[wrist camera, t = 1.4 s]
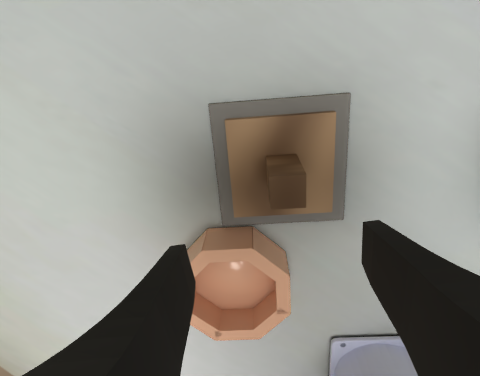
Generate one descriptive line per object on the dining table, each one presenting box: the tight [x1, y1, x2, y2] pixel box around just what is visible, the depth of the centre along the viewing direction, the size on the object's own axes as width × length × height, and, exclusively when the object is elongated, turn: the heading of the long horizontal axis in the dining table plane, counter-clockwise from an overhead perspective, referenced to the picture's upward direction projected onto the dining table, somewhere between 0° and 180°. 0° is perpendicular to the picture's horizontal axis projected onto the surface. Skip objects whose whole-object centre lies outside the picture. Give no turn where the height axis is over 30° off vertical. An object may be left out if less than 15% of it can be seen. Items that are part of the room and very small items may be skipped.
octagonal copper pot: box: [187, 226, 291, 341], centre depth 24 cm, size 8×8×3 cm
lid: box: [225, 111, 336, 218], centre depth 19 cm, size 7×7×5 cm
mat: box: [209, 93, 351, 226], centre depth 21 cm, size 9×9×1 cm
